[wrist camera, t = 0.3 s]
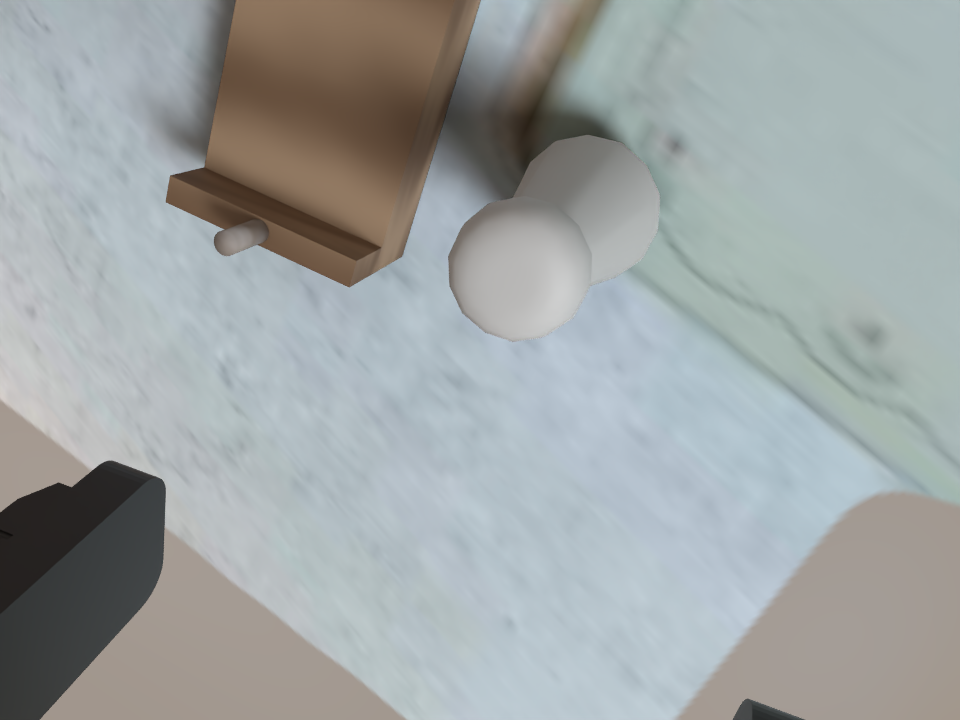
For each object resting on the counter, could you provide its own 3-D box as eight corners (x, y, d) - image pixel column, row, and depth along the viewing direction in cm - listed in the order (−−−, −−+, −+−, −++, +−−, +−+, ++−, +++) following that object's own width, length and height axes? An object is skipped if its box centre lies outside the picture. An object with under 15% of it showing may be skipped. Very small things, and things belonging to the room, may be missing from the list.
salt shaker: (532, 126, 37) (411, 173, 25) (672, 128, 35) (608, 180, 24) (532, 263, 39) (419, 363, 27) (663, 271, 37) (601, 383, 26)
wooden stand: (292, -84, 37) (176, -108, 30) (483, -10, 36) (407, -18, 29) (237, 182, 42) (127, 212, 36) (402, 256, 41) (320, 303, 34)
